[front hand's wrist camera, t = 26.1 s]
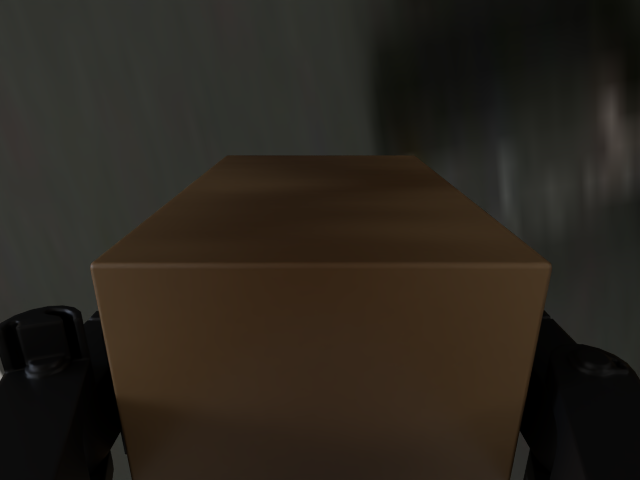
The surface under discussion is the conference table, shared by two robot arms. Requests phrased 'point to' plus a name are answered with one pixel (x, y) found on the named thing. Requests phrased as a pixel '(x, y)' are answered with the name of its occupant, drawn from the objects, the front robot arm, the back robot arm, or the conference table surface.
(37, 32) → the conference table surface
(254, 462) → the brick
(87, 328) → the front robot arm
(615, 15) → the conference table surface
